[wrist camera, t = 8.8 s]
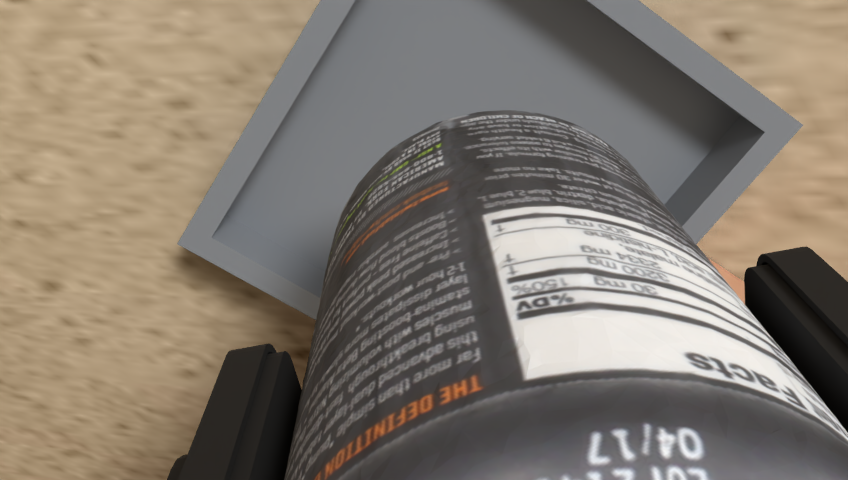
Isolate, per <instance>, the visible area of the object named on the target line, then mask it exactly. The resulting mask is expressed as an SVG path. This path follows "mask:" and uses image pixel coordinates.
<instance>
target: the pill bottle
mask: <svg viewBox="0 0 848 480" xmlns="http://www.w3.org/2000/svg"><path fill="white" fill-rule="evenodd" d="M284 480H848V433H847V431H846V430H845V429H844V428H843V426H842V425H841V424H840V422H839V421H838V420H837V418H836V417H835V416H834V415H833V413H832V412H831V411H830V410H829V409H828V407H827V406H826V405H825V403H824V402H823V400H822V399H821V398H820V397H819V395H818V394H817V393H816V392H815V390H814V389H813V388H812V386H811V385H810V384H809V383H808V381H807V380H806V379H805V378H804V377H803V375H802V374H801V373H800V372H799V370H798V369H797V368H796V367H795V365H794V364H793V363H792V362H791V360H790V359H789V358H788V357H787V355H786V354H785V353H784V352H783V350H782V349H781V348H780V347H779V346H778V344H777V343H776V342H775V341H774V340H773V339H772V337H771V336H770V335H769V334H768V333H767V331H766V330H765V329H764V328H763V327H762V325H761V324H760V323H759V322H758V320H757V319H756V318H755V317H754V316H753V314H752V313H751V312H750V311H749V309H748V308H747V307H746V306H745V304H744V303H743V302H742V301H741V299H740V298H739V297H738V295H737V294H736V293H735V291H734V290H733V289H732V288H731V286H730V285H729V284H728V283H727V282H726V281H725V279H724V278H723V277H722V276H721V274H720V273H719V272H718V270H717V269H716V268H715V266H714V265H713V264H712V263H711V261H710V260H709V259H708V258H707V257H706V256H705V254H704V253H703V252H702V251H701V250H700V249H699V247H698V246H697V245H696V244H695V243H694V241H693V240H692V238H691V237H690V236H689V235H688V234H687V233H686V231H685V230H684V229H683V228H682V226H681V225H680V224H679V223H678V222H677V220H676V219H675V218H674V216H673V215H672V214H671V213H670V212H669V211H668V209H667V208H666V207H665V206H664V204H663V203H662V201H661V200H660V199H659V198H658V197H657V195H656V194H655V193H654V192H653V191H652V189H651V188H650V187H649V185H648V184H647V183H646V182H645V181H644V180H643V179H642V178H641V176H640V175H639V174H638V172H637V171H636V169H635V168H634V167H633V166H632V165H631V164H630V163H629V161H628V160H627V159H626V158H624V157H623V156H622V155H621V154H620V153H619V152H617V151H616V150H615V149H614V148H612V147H611V146H610V145H609V144H607V143H606V142H604V141H603V140H602V139H600V138H599V137H597V136H596V135H594V134H592V133H591V132H589V131H587V130H585V129H584V128H582V127H580V126H578V125H576V124H574V123H571V122H568V121H565V120H562V119H559V118H556V117H553V116H548V115H544V114H540V113H534V112H525V111H516V110H501V111H483V112H476V113H472V114H467V115H463V116H459V117H455V118H450V119H447V120H444V121H440V122H437V123H435V124H433V125H431V126H430V127H428V128H426V129H424V130H422V131H420V132H419V133H417V134H415V135H413V136H411V137H409V138H407V139H406V140H404V141H403V142H401V143H399V144H398V145H396V146H395V147H393V148H392V149H390V150H389V151H388V152H387V153H386V154H385V155H384V156H383V157H382V158H381V159H380V160H379V161H378V162H377V163H376V164H375V165H374V166H373V167H372V168H371V169H370V170H369V172H368V173H367V174H366V175H365V176H364V177H363V179H362V180H361V181H360V182H359V183H358V185H357V186H356V188H355V190H354V191H353V193H352V195H351V196H350V198H349V200H348V201H347V203H346V205H345V207H344V209H343V211H342V213H341V215H340V218H339V221H338V224H337V228H336V231H335V234H334V238H333V242H332V246H331V250H330V254H329V258H328V263H327V268H326V271H325V276H324V282H323V288H322V293H321V297H320V302H319V309H318V313H317V318H316V323H315V328H314V334H313V338H312V343H311V348H310V354H309V359H308V364H307V369H306V373H305V377H304V380H303V388H302V392H301V395H300V400H299V406H298V413H297V418H296V423H295V427H294V432H293V439H292V444H291V447H290V454H289V458H288V464H287V469H286V474H285V479H284Z"/></svg>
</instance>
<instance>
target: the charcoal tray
mask: <svg viewBox="0 0 848 480" xmlns="http://www.w3.org/2000/svg"><path fill="white" fill-rule="evenodd" d="M501 110H516V111H525V112H534V113H540V114H544V115H548V116H553V117H556V118H559V119H562V120H565V121H568V122H571V123H574V124H576V125H578V126H580V127H582V128H584V129H585V130H587V131H589V132H591V133H592V134H594V135H596V136H597V137H599V138H600V139H602V140H603V141H604V142H606V143H607V144H609V145H610V146H611V147H612V148H614V149H615V150H616V151H617V152H619V153H620V154H621V155H622V156H623V157H624V158H626V159H627V160H628V161H629V163H630V164H631V165H632V166H633V167H634V168H635V169H636V171H637V172H638V174H639V175H640V176H641V178H642V179H643V180H644V181H645V182H646V183H647V184H648V185H649V187H650V188H651V189H652V191H653V192H654V193H655V194H656V195H657V197H658V198H659V199H660V200H661V201H662V203H663V204H664V206H665V207H666V208H667V209H668V211H669V212H670V213H671V214H672V215H673V216H674V218H675V219H676V220H677V222H678V223H679V224H680V225H681V226H682V228H683V229H684V230H685V231H686V233H687V234H688V235H689V236H690V237H691V238H692V240H693V241H694V243H695V244H697V243H698V242H699V241H700V240H701V239H702V237H703V236H704V235H705V234H706V233H707V232H708V231H709V230H710V228H711V227H712V226H713V225H714V224H715V223H716V222H717V221H718V220H719V218H720V217H721V216H722V215H723V214H724V213H725V212H726V211H727V210H728V208H729V207H730V206H731V205H732V204H733V203H734V202H735V201H736V199H737V198H738V197H739V196H740V195H741V194H742V193H743V192H744V191H745V189H746V188H747V187H748V186H749V185H750V184H751V183H752V182H753V181H754V179H755V178H756V177H757V176H758V175H759V174H760V173H761V172H762V170H763V169H764V168H765V167H766V166H767V165H768V164H769V163H770V162H771V160H772V159H773V158H774V157H775V156H776V155H777V154H778V153H779V152H780V150H781V149H782V148H783V147H784V146H785V145H786V144H787V143H788V141H789V140H790V139H791V138H792V137H793V136H794V135H795V134H796V133H797V131H798V130H799V129H800V128H801V127H802V126H803V125H802V124H801V123H800V122H798V121H797V120H796V119H794V118H793V117H792V116H790V115H789V114H788V113H786V112H785V111H784V110H783V109H781V108H780V107H779V106H777V105H776V104H775V103H773V102H772V101H771V100H769V99H768V98H767V97H765V96H764V95H763V94H761V93H760V92H759V91H757V90H756V89H755V88H753V87H752V86H751V85H749V84H748V83H747V82H746V81H744V80H743V79H742V78H740V77H739V76H738V75H736V74H735V73H734V72H732V71H731V70H730V69H728V68H727V67H726V66H724V65H723V64H722V63H720V62H719V61H718V60H716V59H715V58H714V57H712V56H711V55H710V54H709V53H707V52H706V51H705V50H703V49H702V48H701V47H699V46H698V45H697V44H695V43H694V42H693V41H691V40H690V39H689V38H687V37H686V36H685V35H683V34H682V33H681V32H679V31H678V30H677V29H676V28H674V27H673V26H672V25H670V24H669V23H668V22H666V21H665V20H664V19H662V18H661V17H660V16H658V15H657V14H656V13H654V12H653V11H652V10H650V9H649V8H648V7H646V6H645V5H644V4H642V3H641V2H640V1H639V0H321V1H320V2H319V4H318V6H317V7H316V9H315V11H314V13H313V14H312V16H311V18H310V19H309V21H308V23H307V24H306V26H305V28H304V30H303V31H302V33H301V35H300V36H299V38H298V40H297V41H296V43H295V45H294V47H293V48H292V50H291V52H290V53H289V55H288V57H287V58H286V60H285V62H284V63H283V65H282V67H281V69H280V70H279V72H278V74H277V75H276V77H275V79H274V80H273V82H272V84H271V86H270V87H269V89H268V91H267V92H266V94H265V96H264V97H263V99H262V101H261V103H260V104H259V106H258V108H257V109H256V111H255V113H254V114H253V116H252V118H251V120H250V121H249V123H248V125H247V126H246V128H245V130H244V131H243V133H242V135H241V137H240V138H239V140H238V142H237V143H236V145H235V147H234V148H233V150H232V152H231V153H230V155H229V157H228V159H227V160H226V162H225V164H224V165H223V167H222V169H221V170H220V172H219V174H218V176H217V177H216V179H215V181H214V182H213V184H212V186H211V187H210V189H209V191H208V193H207V194H206V196H205V198H204V199H203V201H202V203H201V204H200V206H199V208H198V210H197V211H196V213H195V215H194V216H193V218H192V220H191V221H190V223H189V225H188V227H187V228H186V230H185V232H184V233H183V235H182V237H181V238H180V240H179V242H178V243H177V244H178V245H180V246H182V247H183V248H185V249H187V250H189V251H191V252H193V253H194V254H196V255H198V256H200V257H202V258H204V259H205V260H207V261H209V262H211V263H213V264H214V265H216V266H218V267H220V268H222V269H224V270H225V271H227V272H229V273H231V274H233V275H235V276H236V277H238V278H240V279H242V280H244V281H245V282H247V283H249V284H251V285H253V286H255V287H256V288H258V289H260V290H262V291H264V292H266V293H267V294H269V295H271V296H273V297H275V298H276V299H278V300H280V301H282V302H284V303H286V304H287V305H289V306H291V307H293V308H295V309H297V310H298V311H300V312H302V313H304V314H306V315H307V316H309V317H311V318H313V319H315V320H316V318H317V313H318V309H319V302H320V297H321V293H322V288H323V282H324V276H325V271H326V268H327V263H328V258H329V254H330V250H331V246H332V242H333V238H334V234H335V231H336V228H337V224H338V221H339V218H340V215H341V213H342V211H343V209H344V207H345V205H346V203H347V201H348V200H349V198H350V196H351V195H352V193H353V191H354V190H355V188H356V186H357V185H358V183H359V182H360V181H361V180H362V179H363V177H364V176H365V175H366V174H367V173H368V172H369V170H370V169H371V168H372V167H373V166H374V165H375V164H376V163H377V162H378V161H379V160H380V159H381V158H382V157H383V156H384V155H385V154H386V153H387V152H388V151H389V150H390V149H392V148H393V147H395V146H396V145H398V144H399V143H401V142H403V141H404V140H406V139H407V138H409V137H411V136H413V135H415V134H417V133H419V132H420V131H422V130H424V129H426V128H428V127H430V126H431V125H433V124H435V123H437V122H440V121H444V120H447V119H450V118H455V117H459V116H463V115H467V114H472V113H476V112H483V111H501Z"/></svg>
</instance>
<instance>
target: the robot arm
mask: <svg viewBox="0 0 848 480" xmlns="http://www.w3.org/2000/svg"><path fill="white" fill-rule="evenodd" d="M744 285H745V306H746V307H747V308H748V309H749V311H750V312H751V313H752V314H753V316H754V317H755V318H756V319H757V320H758V322H759V323H760V324H761V325H762V327H763V328H764V329H765V330H766V331H767V333H768V334H769V335H770V336H771V337H772V339H773V340H774V341H775V342H776V343H777V344H778V346H779V347H780V348H781V349H782V350H783V352H784V353H785V354H786V355H787V357H788V358H789V359H790V360H791V362H792V363H793V364H794V365H795V367H796V368H797V369H798V370H799V372H800V373H801V374H802V375H803V377H804V378H805V379H806V380H807V381H808V383H809V384H810V385H811V386H812V388H813V389H814V390H815V392H816V393H817V394H818V395H819V397H820V398H821V399H822V400H823V402H824V403H825V405H826V406H827V407H828V409H829V410H830V411H831V412H832V413H833V415H834V416H835V417H836V418H837V420H838V421H839V422H840V424H841V425H842V426H843V428H844V429H845V430H846V431H847V433H848V282H847V281H846V280H845V279H844V278H843V277H842V276H841V275H839V274H838V273H837V272H836V271H835V270H834V269H833V268H832V267H831V266H829V265H828V264H827V263H826V262H825V261H824V260H823V259H822V258H821V257H819V256H818V255H817V254H816V253H815V252H814V251H813V250H811V249H810V248H808V247H800V248H794V249H789V250H783V251H777V252H772V253H766V254H761V255H760V257H759V258H758V261H757V266H756V267H750V268H747V270H746V272H745V279H744ZM301 392H302V390H301V387H300V384H299V381H298V378H297V375H296V372H295V369H294V366H293V362H292V360H291V357H290V355H289V354H288V352H286V351H284V352H278V353H276V350H275V349H274V347H273V346H272V345H271V344H264V345H258V346H253V347H247V348H242V349H236V350H231V351H229V352H228V354H227V355H226V358H225V360H224V363H223V365H222V368H221V370H220V373H219V376H218V378H217V381H216V383H215V386H214V388H213V391H212V394H211V396H210V399H209V401H208V404H207V406H206V409H205V412H204V414H203V417H202V419H201V422H200V424H199V427H198V430H197V432H196V435H195V437H194V440H193V442H192V445H191V448H190V450H189V453H188V455H183V456H181V457H180V458H178V459H177V460H176V462H175V463H174V465H173V467H172V469H171V471H170V474H169V476H168V478H167V480H284V479H285V474H286V469H287V464H288V458H289V454H290V447H291V444H292V439H293V432H294V427H295V423H296V418H297V413H298V406H299V400H300V395H301Z"/></svg>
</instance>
